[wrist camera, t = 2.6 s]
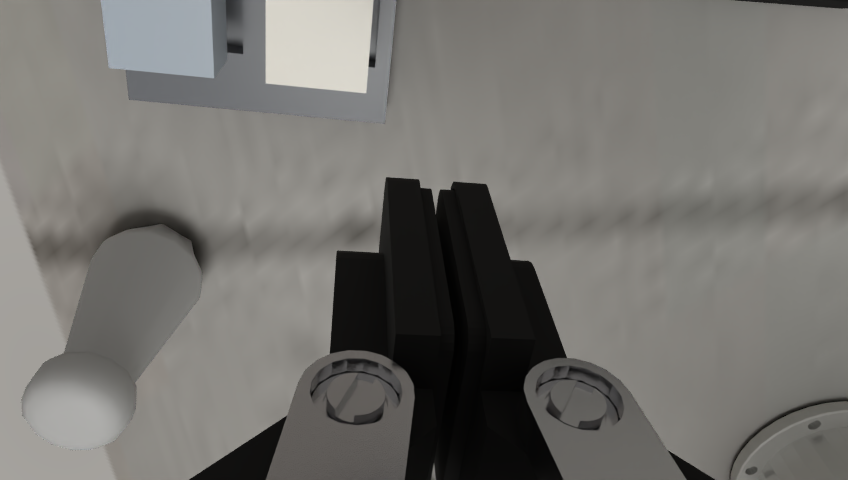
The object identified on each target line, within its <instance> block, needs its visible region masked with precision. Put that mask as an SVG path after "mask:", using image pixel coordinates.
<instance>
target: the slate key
mask: <svg viewBox="0 0 848 480" xmlns="http://www.w3.org/2000/svg"><path fill="white" fill-rule="evenodd" d="M101 6H102V14H103V22H104V31H105V39H106V48H107V56H108V64H109V68H114V69H124V70H134V71H145V72H155V73H165V74H175V75H185V76H195V77H205V78H215V76H216V75H217V74H218V72H219V71H220V69H221V68H222V67H223V65H224V64H225V62H226V61H227V26H226V0H101Z"/></svg>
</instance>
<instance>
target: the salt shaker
mask: <svg viewBox="0 0 848 480" xmlns="http://www.w3.org/2000/svg"><path fill="white" fill-rule="evenodd" d="M201 283H202V271H201V269H200V266H199V264H198V262H197V260H196V258H195V255H194V252H193V247H192V243H191V240H189V239H187V238H186V237H184V236H182V235H181V234H179V233H177V232H176V231H174V230H172V229H171V228H169V227H167V226H166V225H164V224H157V225H152V226H147V227H140V228H134V229H128V230H125V231H123V232H121V233H118V234H116V235H114V236H112V237H109V238H107V239H106V240H105V241H104V242H102V244H101V245H100V247H99V248H98V250H97V251H96V253H95V254H94V256H93V257H92V259H91V261H90V265H89V268H88V272H87V275H86V279H85V282H84V286H83V289H82V293H81V296H80V299H79V303H78V306H77V310H76V313H75V317H74V320H73V324H72V327H71V331H70V334H69V338H68V341H67V344H66V348H65V351H64V353H63V354H61V355H59V356H57V357H54V358H51V359H49V360H48V361H46V362H44V363H43V364H42V366H41V367H40V368H39V370H38V371H37V372H36V374H35V375H34V377H33V378H32V379H31V381H30V382H29V384H28V385H27V387H26V389H25V392H24V394H23V397H22V416H23V417H24V419H25V420H26V421H27V423H28V424H29V425H30V427H31V428H32V430H33V431H34V432H35V433H36V434H37V435H38V436H40V437H41V438H43V439H44V440H46V441H47V442H49V443H50V444H52V445H55V446H59V447H62V448H66V449H70V450H89V449H90V450H91V449H96V448H99V447H102V446H104V445H107V444H109V443H111V442H114V441H115V440H116V438H117V437H118V436H119V435H120V434H121V433H122V431H123V430H124V429H125V428H126V426H127V425H128V424H129V422H130V421H131V419H132V417H133V414H134V412H135V409H136V385H135V382H136V381H137V380H138V378H139V377H140V376H141V374H142V373H143V372H144V370H145V369H146V368H147V366H148V365H149V364H150V362H151V361H152V360H153V359H154V357H155V356H156V355H157V353H158V352H159V351H160V349H161V348H162V347H163V345H164V344H165V343H166V341H167V340H168V339H169V338H170V336H171V335H172V334H173V332H174V331H175V330H176V328H177V327H178V326H179V324H180V323H181V322H182V320H183V319H184V318H185V316H186V315H187V314H188V313H189V311H190V310H191V309H192V307H193V306H194V305H195V303H196V302H197V301H198V299H199V298H200V292H201Z"/></svg>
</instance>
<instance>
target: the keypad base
mask: <svg viewBox="0 0 848 480" xmlns="http://www.w3.org/2000/svg"><path fill="white" fill-rule="evenodd" d="M395 11H396V0H374V2H373V14H372V27H371V40H370V53H369V66H368V79H367V91H366V93H357V92H347V91H337V90H326V89H316V88H306V87H296V86H286V85H276V84H266V0H226V26H227V61H226V62H225V64H224V65H223V67H222V68H221V69H220V71H219V72H218V74H217V75H216V76H215V78H205V77H195V76H185V75H175V74H165V73H155V72H145V71H134V70H126V77H127V86H128V96H129V100H139V101H149V102H160V103H170V104H181V105H191V106H202V107H212V108H223V109H234V110H244V111H255V112H265V113H276V114H286V115H297V116H307V117H318V118H329V119H339V120H350V121H360V122H371V123H381V124H385V118H386V107H387V96H388V86H389V75H390V64H391V54H392V43H393V32H394V22H395Z"/></svg>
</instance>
